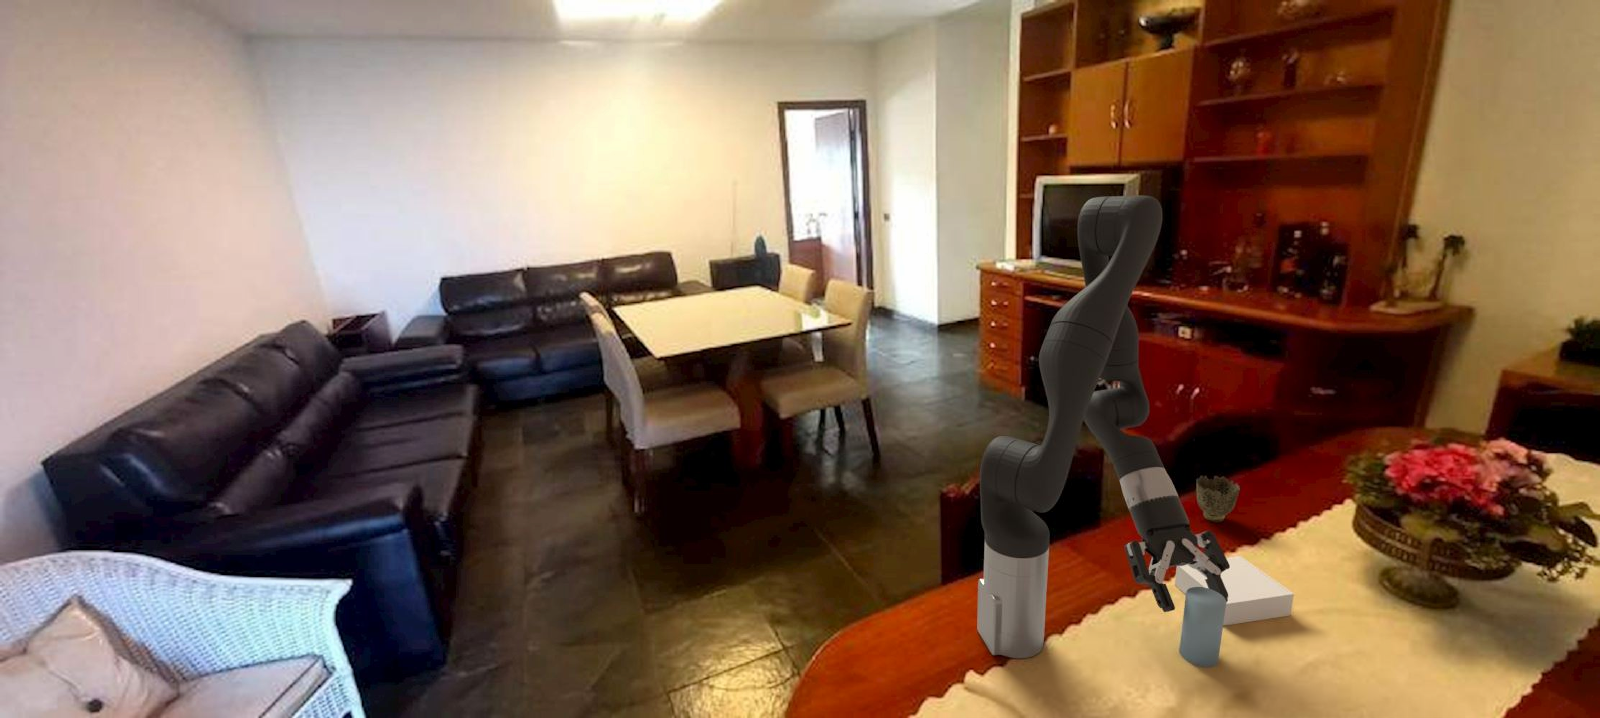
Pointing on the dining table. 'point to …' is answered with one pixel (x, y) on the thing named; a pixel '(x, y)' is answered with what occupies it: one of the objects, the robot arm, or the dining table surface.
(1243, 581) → the white plinth
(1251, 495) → the dining table surface
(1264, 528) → the dining table surface
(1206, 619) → the blue cylinder
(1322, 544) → the dining table surface
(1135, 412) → the robot arm
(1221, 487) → the cup
